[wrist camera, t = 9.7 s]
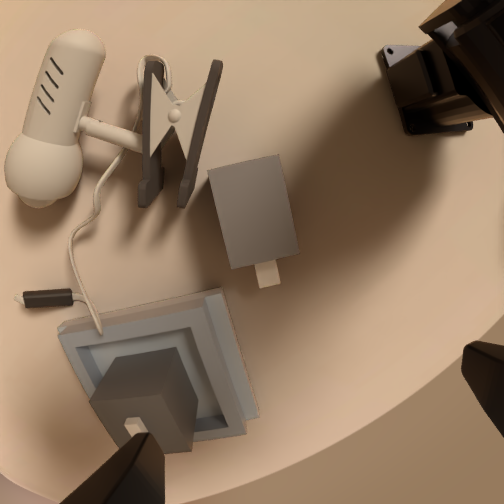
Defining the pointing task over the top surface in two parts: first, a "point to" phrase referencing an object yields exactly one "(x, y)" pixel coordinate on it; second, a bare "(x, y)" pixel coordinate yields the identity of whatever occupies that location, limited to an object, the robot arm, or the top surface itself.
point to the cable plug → (255, 215)
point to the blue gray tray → (188, 345)
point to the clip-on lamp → (99, 137)
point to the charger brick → (148, 400)
